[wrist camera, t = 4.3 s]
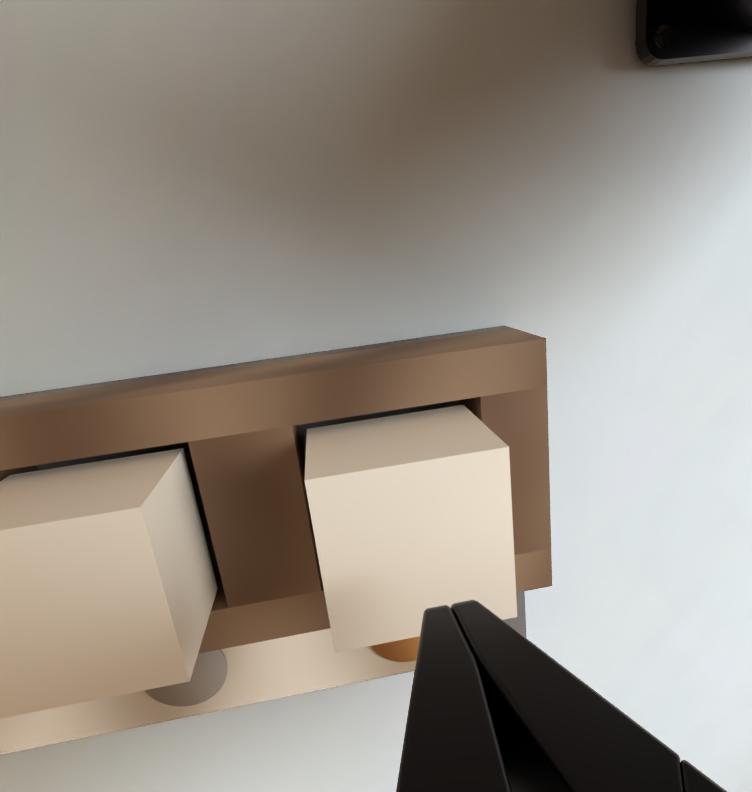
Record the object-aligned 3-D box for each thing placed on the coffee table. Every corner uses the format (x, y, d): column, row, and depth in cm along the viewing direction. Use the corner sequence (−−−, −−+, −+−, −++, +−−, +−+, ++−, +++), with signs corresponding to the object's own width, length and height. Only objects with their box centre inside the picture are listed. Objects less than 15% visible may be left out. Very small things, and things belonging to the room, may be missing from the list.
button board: (504, 325, 14) (545, 338, 12) (519, 635, 17) (554, 698, 15) (-335, 444, 12) (-503, 490, 10) (-153, 769, 15) (-245, 868, 13)
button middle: (183, 448, 12) (140, 507, 9) (217, 587, 13) (190, 681, 10) (9, 475, 11) (-95, 545, 8) (60, 616, 12) (-17, 721, 10)
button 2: (463, 404, 12) (509, 446, 9) (473, 541, 13) (517, 616, 10) (306, 428, 12) (304, 480, 9) (330, 567, 13) (335, 653, 10)
